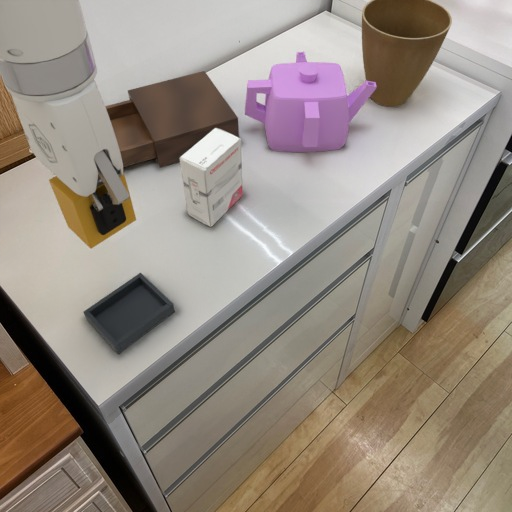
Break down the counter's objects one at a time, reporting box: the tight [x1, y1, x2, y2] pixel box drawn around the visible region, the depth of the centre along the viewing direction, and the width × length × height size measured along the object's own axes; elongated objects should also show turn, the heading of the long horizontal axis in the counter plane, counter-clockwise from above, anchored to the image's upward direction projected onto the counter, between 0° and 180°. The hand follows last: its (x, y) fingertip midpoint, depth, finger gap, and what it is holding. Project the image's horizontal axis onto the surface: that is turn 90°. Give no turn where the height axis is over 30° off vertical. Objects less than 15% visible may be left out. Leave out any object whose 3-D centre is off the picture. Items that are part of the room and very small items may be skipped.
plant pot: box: [361, 0, 453, 108], centre depth 96 cm, size 15×15×16 cm
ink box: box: [179, 128, 243, 228], centre depth 79 cm, size 9×5×12 cm, turn 145°
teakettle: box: [244, 51, 377, 153], centre depth 91 cm, size 17×17×12 cm
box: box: [48, 172, 137, 250], centre depth 56 cm, size 6×4×7 cm
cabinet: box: [127, 70, 240, 168], centre depth 94 cm, size 15×16×6 cm
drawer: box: [105, 99, 157, 168], centre depth 90 cm, size 17×14×4 cm
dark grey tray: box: [83, 272, 176, 355], centre depth 70 cm, size 9×7×2 cm
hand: (98, 213), depth 57 cm, fingers closed on box, 4 cm apart
